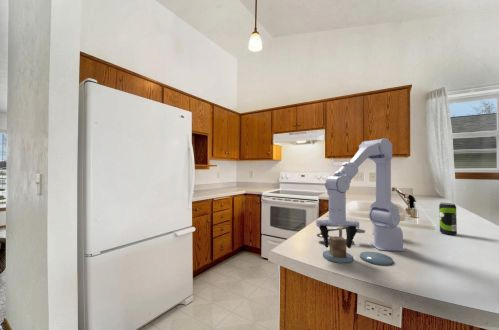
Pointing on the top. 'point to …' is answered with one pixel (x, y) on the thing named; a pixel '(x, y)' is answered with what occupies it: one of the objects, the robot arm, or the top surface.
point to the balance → (340, 232)
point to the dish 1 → (338, 260)
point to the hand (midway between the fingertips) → (337, 247)
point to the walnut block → (337, 247)
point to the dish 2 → (376, 258)
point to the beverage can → (448, 218)
